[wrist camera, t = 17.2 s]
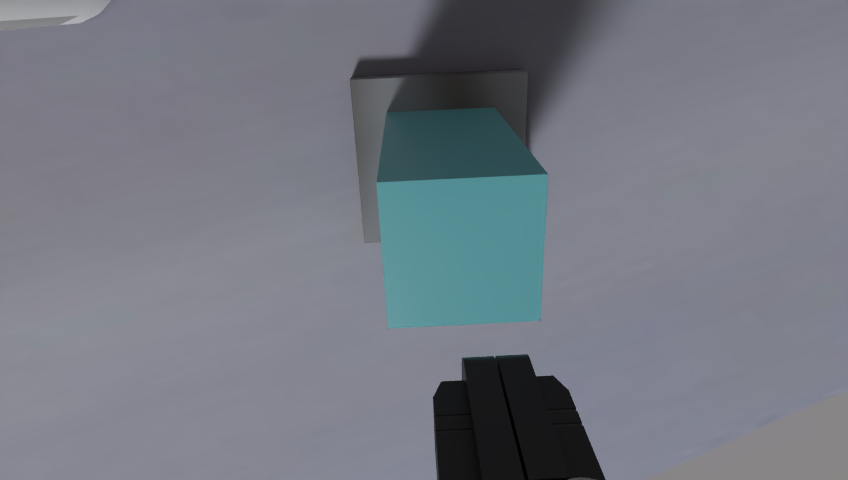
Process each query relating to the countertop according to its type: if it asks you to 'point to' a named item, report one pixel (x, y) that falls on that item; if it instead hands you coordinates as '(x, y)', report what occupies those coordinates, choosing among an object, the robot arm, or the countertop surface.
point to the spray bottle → (47, 12)
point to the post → (423, 95)
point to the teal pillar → (459, 219)
